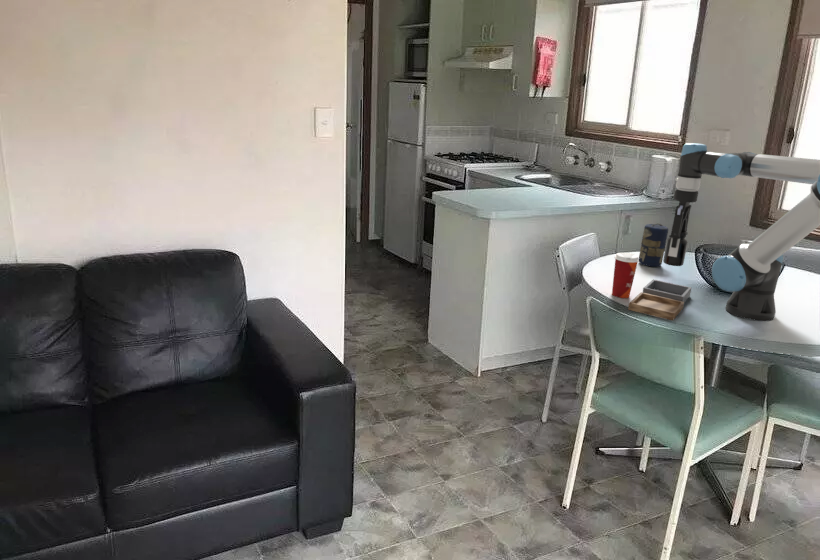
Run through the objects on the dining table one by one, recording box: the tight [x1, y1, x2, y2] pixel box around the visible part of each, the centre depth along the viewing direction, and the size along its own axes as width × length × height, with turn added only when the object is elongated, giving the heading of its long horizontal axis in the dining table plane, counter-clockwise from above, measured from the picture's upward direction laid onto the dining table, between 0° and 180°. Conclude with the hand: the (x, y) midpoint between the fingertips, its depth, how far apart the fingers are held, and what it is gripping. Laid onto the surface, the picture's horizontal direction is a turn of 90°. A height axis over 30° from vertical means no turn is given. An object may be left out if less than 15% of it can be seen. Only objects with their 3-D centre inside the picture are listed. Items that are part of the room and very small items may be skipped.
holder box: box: [642, 279, 692, 304], centre depth 229 cm, size 14×14×4 cm
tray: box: [627, 291, 685, 321], centre depth 216 cm, size 15×15×2 cm
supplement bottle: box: [662, 230, 689, 267], centre depth 224 cm, size 7×7×12 cm
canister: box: [638, 223, 669, 268], centre depth 267 cm, size 10×10×18 cm
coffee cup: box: [611, 252, 639, 299], centre depth 226 cm, size 8×8×15 cm
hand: (674, 254), depth 224 cm, fingers closed on supplement bottle, 7 cm apart
